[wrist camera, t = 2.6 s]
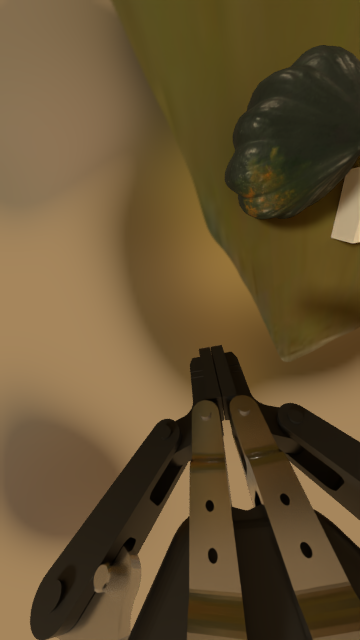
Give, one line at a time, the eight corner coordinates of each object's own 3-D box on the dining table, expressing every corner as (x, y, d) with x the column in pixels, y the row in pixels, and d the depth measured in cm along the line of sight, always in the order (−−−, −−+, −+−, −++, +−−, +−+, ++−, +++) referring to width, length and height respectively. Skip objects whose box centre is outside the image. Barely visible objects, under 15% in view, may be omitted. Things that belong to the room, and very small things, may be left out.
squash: (191, 125, 22) (278, 199, 17) (315, -30, 17) (493, 6, 12) (223, 203, 34) (278, 258, 29) (299, 127, 29) (382, 178, 24)
